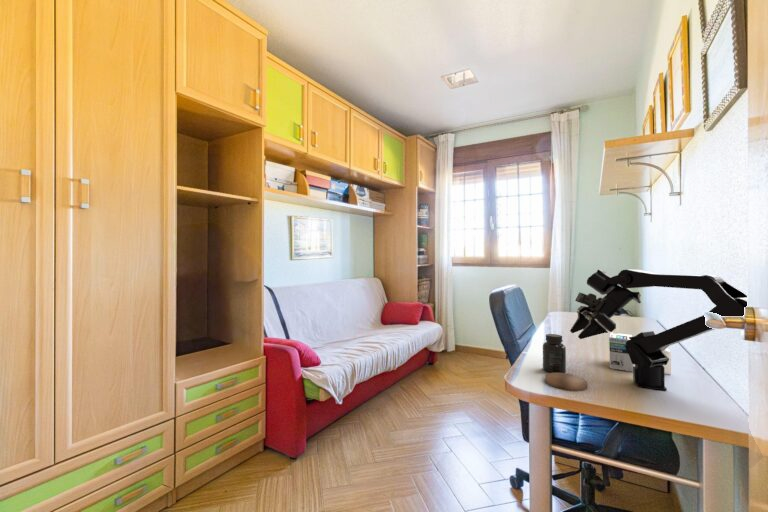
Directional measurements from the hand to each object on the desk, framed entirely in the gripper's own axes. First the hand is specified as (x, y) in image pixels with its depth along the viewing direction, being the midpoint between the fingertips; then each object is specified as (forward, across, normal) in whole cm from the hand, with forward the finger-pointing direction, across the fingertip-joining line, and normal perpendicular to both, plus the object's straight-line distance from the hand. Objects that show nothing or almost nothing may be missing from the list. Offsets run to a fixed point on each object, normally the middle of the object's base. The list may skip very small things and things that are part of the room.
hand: (574, 334), depth 107 cm
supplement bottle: (+14, 0, +4) cm, 14 cm away
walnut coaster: (+13, +12, +5) cm, 18 cm away
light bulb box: (-3, -12, +21) cm, 25 cm away
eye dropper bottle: (-10, -8, +28) cm, 31 cm away
